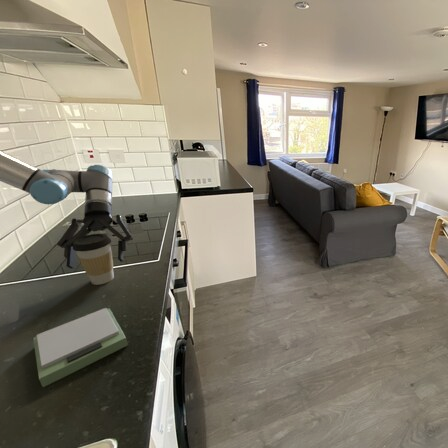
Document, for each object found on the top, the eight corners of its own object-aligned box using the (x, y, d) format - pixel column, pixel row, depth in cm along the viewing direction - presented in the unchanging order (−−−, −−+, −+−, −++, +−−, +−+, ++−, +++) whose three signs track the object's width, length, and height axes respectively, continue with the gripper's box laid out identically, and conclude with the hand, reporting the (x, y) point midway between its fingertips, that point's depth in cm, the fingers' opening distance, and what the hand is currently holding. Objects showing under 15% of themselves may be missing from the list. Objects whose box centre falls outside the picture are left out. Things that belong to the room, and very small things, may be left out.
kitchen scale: (36, 345, 62) (31, 335, 61) (111, 315, 72) (108, 305, 71) (42, 387, 52) (37, 376, 51) (128, 345, 62) (125, 334, 61)
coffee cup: (116, 268, 94) (106, 230, 89) (123, 279, 88) (112, 239, 82) (82, 279, 88) (69, 238, 82) (87, 291, 81) (73, 248, 76)
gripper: (141, 207, 99) (143, 260, 91) (60, 214, 90) (54, 273, 83) (136, 197, 92) (137, 254, 85) (47, 203, 84) (39, 266, 76)
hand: (96, 263), depth 84 cm, fingers open, 13 cm apart
